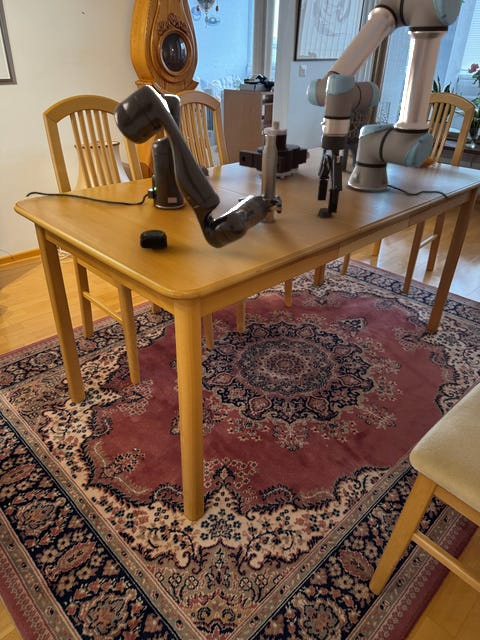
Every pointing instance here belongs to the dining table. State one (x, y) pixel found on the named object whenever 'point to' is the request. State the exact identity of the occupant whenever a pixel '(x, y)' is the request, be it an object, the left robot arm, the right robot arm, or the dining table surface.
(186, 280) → the dining table surface
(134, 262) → the dining table surface
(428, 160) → the toy
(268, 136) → the bottle
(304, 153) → the mechanical component
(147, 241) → the tape measure
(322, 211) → the cap
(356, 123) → the planter
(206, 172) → the rock
